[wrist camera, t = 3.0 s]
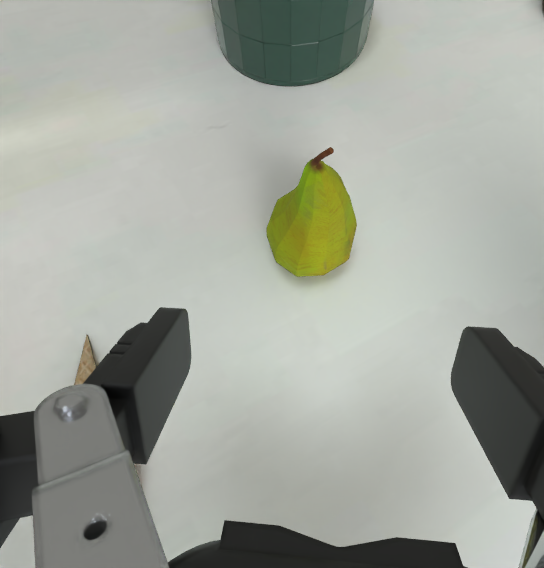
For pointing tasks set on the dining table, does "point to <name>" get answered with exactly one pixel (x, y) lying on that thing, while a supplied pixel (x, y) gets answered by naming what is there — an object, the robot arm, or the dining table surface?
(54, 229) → the dining table surface
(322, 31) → the pot
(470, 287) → the dining table surface
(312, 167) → the fruit
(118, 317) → the dining table surface
